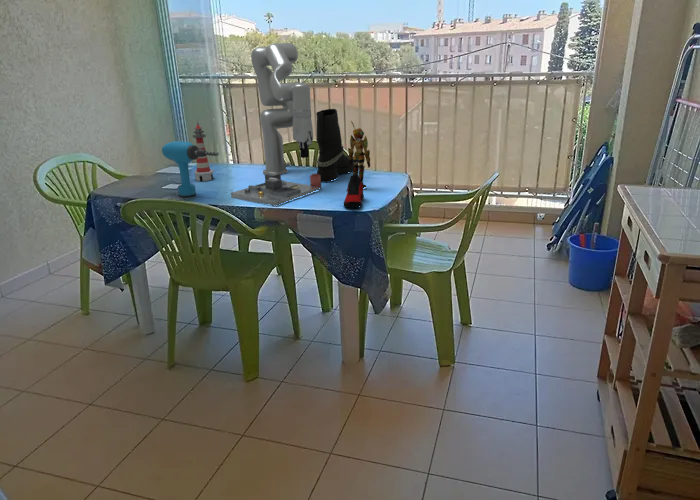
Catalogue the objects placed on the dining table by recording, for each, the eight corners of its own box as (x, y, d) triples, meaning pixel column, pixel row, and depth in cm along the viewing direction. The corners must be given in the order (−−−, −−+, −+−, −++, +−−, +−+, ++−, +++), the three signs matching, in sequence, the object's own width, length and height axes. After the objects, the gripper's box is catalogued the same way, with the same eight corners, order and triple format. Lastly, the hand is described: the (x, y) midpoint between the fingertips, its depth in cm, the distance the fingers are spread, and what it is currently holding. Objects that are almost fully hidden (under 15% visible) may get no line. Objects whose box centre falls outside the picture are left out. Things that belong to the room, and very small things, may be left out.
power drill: (229, 196, 220) (223, 142, 212) (216, 201, 213) (210, 145, 204) (176, 191, 230) (169, 139, 222) (163, 196, 223) (155, 142, 214)
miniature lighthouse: (217, 177, 255) (210, 115, 244) (210, 181, 246) (203, 117, 235) (199, 177, 256) (191, 115, 245) (192, 181, 247) (183, 118, 236)
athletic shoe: (341, 211, 198) (340, 181, 193) (346, 197, 217) (346, 169, 212) (361, 211, 197) (360, 181, 193) (364, 197, 216) (364, 169, 212)
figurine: (373, 188, 229) (373, 119, 218) (366, 192, 223) (366, 122, 212) (352, 185, 234) (351, 118, 223) (345, 189, 228) (343, 120, 217)
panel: (276, 183, 240) (275, 176, 239) (319, 191, 226) (319, 183, 225) (231, 197, 219) (230, 189, 218) (275, 206, 205) (275, 198, 203)
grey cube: (273, 188, 224) (273, 176, 222) (282, 189, 221) (281, 177, 219) (265, 190, 220) (264, 178, 218) (274, 192, 218) (273, 180, 216)
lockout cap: (315, 186, 234) (314, 172, 231) (322, 188, 231) (322, 173, 229) (308, 189, 230) (307, 174, 228) (316, 190, 228) (315, 175, 225)
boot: (360, 170, 267) (362, 105, 255) (330, 185, 238) (331, 112, 225) (339, 167, 272) (340, 103, 259) (307, 181, 242) (306, 110, 230)
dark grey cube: (273, 182, 234) (272, 170, 233) (281, 183, 232) (280, 172, 230) (265, 184, 231) (264, 173, 229) (273, 185, 228) (272, 174, 226)
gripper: (285, 113, 221) (288, 156, 227) (304, 116, 209) (306, 160, 216) (300, 112, 225) (302, 153, 231) (319, 114, 214) (321, 158, 220)
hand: (304, 157), depth 224 cm, fingers closed
